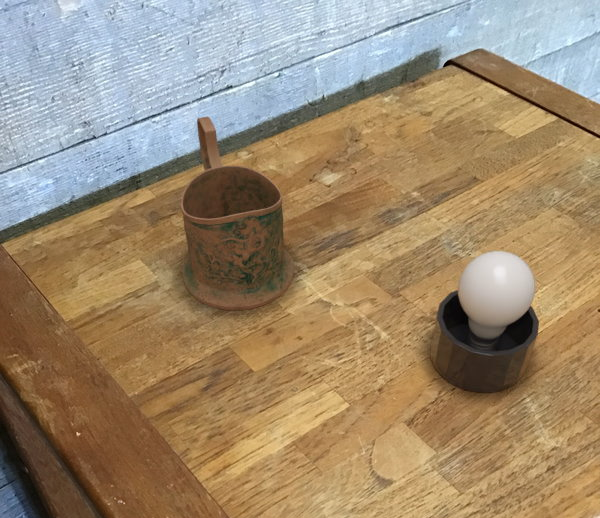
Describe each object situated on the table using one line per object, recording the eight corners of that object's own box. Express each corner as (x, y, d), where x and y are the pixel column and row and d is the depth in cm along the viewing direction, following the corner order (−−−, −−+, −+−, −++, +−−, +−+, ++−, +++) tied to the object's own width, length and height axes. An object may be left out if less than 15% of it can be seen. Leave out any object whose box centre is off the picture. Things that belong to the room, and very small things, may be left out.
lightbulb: (457, 320, 71) (477, 227, 63) (522, 340, 69) (551, 247, 61) (435, 363, 68) (454, 271, 59) (503, 386, 66) (532, 294, 57)
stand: (509, 320, 72) (520, 281, 68) (538, 388, 66) (552, 349, 63) (421, 328, 71) (427, 289, 68) (443, 397, 66) (451, 359, 62)
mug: (260, 197, 85) (254, 99, 76) (308, 295, 74) (308, 194, 65) (162, 217, 83) (144, 118, 74) (196, 321, 72) (180, 220, 63)
